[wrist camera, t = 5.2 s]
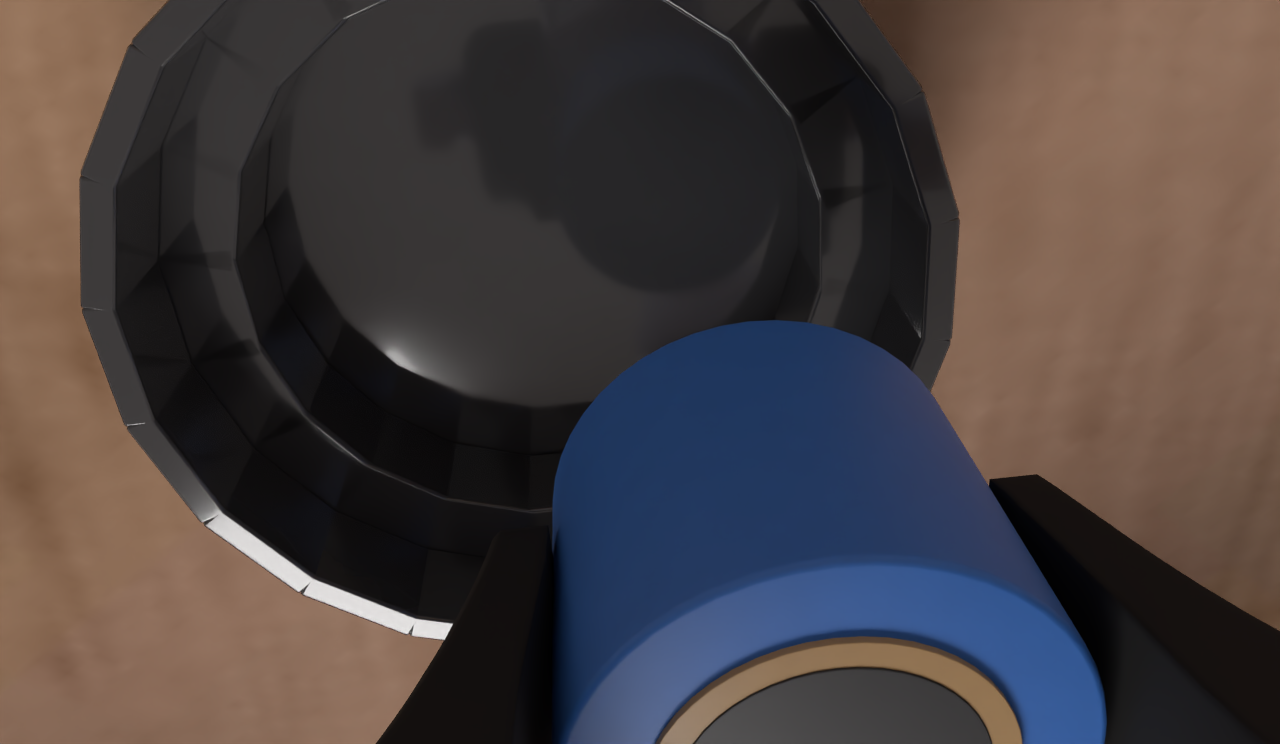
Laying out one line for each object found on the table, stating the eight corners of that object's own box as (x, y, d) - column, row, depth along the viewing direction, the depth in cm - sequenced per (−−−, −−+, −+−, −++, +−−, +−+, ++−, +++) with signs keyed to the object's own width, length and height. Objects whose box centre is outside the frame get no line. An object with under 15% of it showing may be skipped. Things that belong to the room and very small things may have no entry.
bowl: (871, 468, 23) (935, 606, 19) (277, 532, 23) (220, 685, 19) (890, -204, 17) (990, -200, 13) (74, -126, 17) (-73, -98, 13)
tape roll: (940, 628, 16) (1077, 929, 12) (575, 667, 16) (582, 986, 12) (967, 297, 14) (1156, 533, 9) (527, 341, 13) (515, 602, 9)
